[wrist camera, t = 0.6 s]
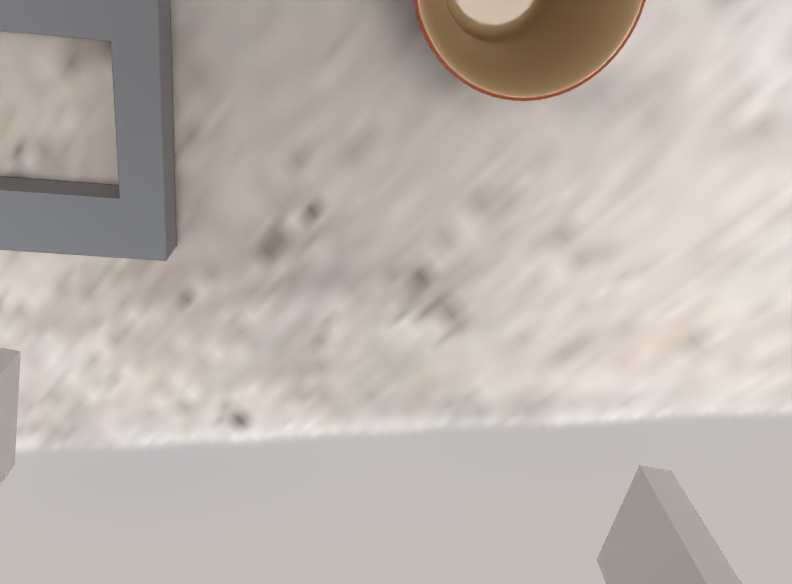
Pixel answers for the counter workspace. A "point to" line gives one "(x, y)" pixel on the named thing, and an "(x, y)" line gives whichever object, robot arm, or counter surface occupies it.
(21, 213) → the grey flat pieces
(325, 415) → the counter surface
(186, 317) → the counter surface
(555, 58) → the mug
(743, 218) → the counter surface
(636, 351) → the counter surface
